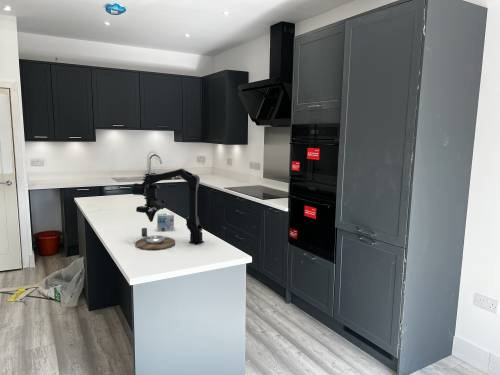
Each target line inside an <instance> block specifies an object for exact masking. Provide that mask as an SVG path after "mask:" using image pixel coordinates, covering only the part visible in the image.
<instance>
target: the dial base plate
mask: <svg viewBox="0 0 500 375" xmlns="http://www.w3.org/2000/svg"><path fill="white" fill-rule="evenodd" d="M163 237H164V242H163V243H160V244H149V243H147V242H146V240H143V238H139V239H137V240H136V241H135V243H134V244H135V247H136V248H137V249H139V250H142V251H143V250H144V251H161V250H167V249H168V250H169V249H171V248H174V247H175V245H176V240H175V239H174V238H171V237H169V236H163Z"/></svg>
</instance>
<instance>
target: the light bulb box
mask: <svg viewBox="0 0 500 375" xmlns="http://www.w3.org/2000/svg"><path fill="white" fill-rule="evenodd" d="M156 216H157V218H156V220H157V221H156V223H157V224H156V229H157V232H174V230H175V214H174V212H164V213H163V212H158V213H157V214H156Z"/></svg>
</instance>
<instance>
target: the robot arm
mask: <svg viewBox="0 0 500 375" xmlns="http://www.w3.org/2000/svg"><path fill="white" fill-rule="evenodd" d="M176 177H181V178H182V179H183V180H184V181H185V182H187V186H188V191H189V216H187V217H186V218H185V220H186V224H185V226H186V227H187V230H189V232H190V234H189V238H190V239H189V241H188V244H194V245H200V244H203V243H205V241H204V240H203V232H202V231H203V229H204V227H203V226H202V225H201V224H200V219H199V216H198V190H199V186H200V182H201V181H200V180H201V178H200V176H199V174H198V175H197V174H193V173H192V172H191V171H190V172H189V171H188V170H185V168H178V169H174V170H171V171H167V172H163V173H150V174H147V175H146V176H145V177H144V180H143V182H142V183H137V182H135V183H133V187H132V190H131V192H132V195H134V196H144V195H145V197H144V200H145V204H144V205H139V206H137V207H136V208H135V210H136V213H143V214H144V213H145V214H146V217H147V218H148V220H149V222H151V223H152V222H153V221H154V218H155V215H156V213H157V212H159V211H160V210H164V209H166V206H167V204H166V203H167V202H166V200H165V199H164V200H163V199H162V200H159V197H157V189H159V188H160V185H158V183H159V182H160V181H163V180H169V179H171V178H176ZM153 184H154V185H153Z"/></svg>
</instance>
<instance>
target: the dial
mask: <svg viewBox="0 0 500 375" xmlns="http://www.w3.org/2000/svg"><path fill="white" fill-rule="evenodd" d="M141 237H142V239H143V240H146V242H147V243H149V244H160V243H163V242H164V237H165V236H162V235H148V228H147V227H142V228H141Z"/></svg>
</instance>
